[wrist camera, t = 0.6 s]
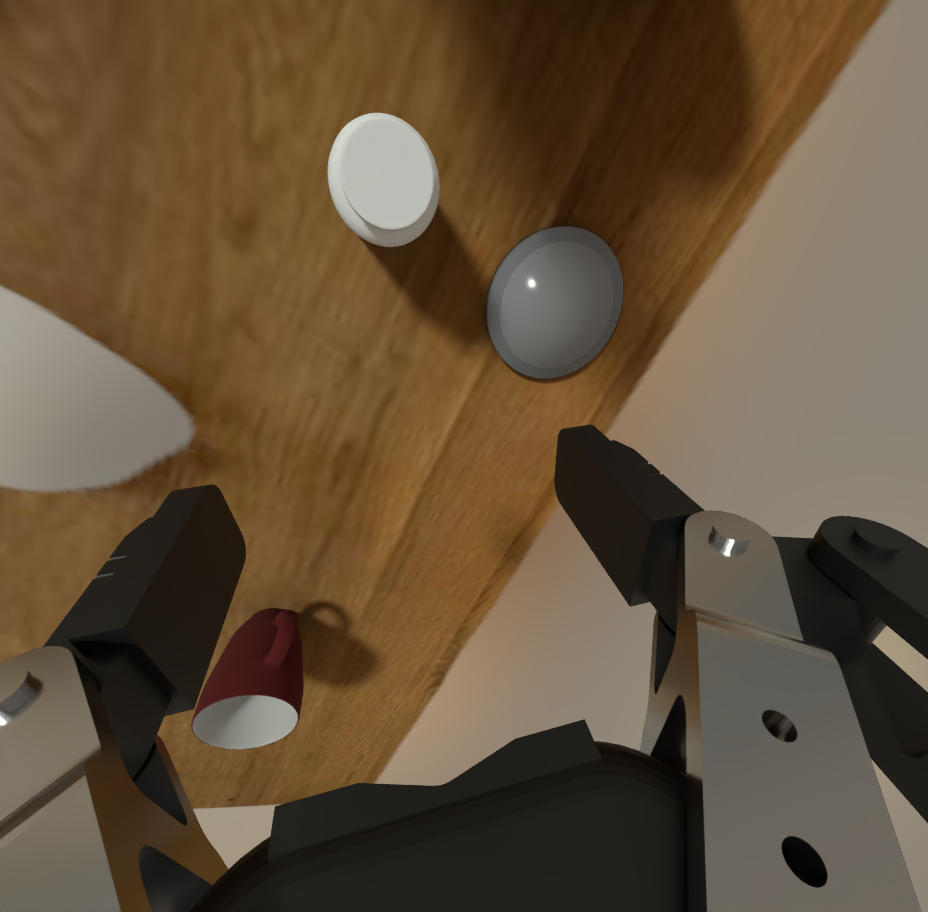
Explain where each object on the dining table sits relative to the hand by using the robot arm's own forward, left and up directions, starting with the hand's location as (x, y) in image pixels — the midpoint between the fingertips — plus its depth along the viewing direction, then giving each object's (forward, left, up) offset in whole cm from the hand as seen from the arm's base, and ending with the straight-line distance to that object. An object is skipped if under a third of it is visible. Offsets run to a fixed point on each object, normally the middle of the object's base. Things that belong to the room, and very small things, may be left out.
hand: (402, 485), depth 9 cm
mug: (+28, -16, -22) cm, 39 cm away
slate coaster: (+1, +13, -22) cm, 26 cm away
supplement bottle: (-7, +1, -22) cm, 24 cm away
